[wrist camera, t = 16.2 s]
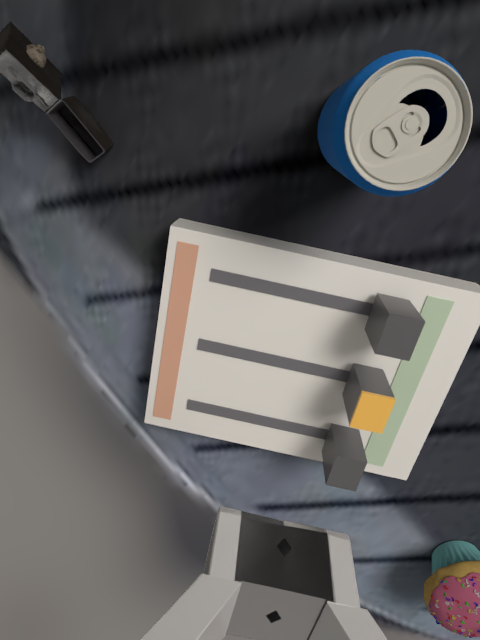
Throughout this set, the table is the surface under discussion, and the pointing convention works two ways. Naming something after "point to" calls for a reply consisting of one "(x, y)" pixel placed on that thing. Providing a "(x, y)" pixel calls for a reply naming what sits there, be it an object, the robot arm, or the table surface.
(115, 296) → the table surface
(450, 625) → the cupcake
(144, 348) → the table surface
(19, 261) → the table surface
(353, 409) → the block
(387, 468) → the white slider switch panel
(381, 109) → the beverage can
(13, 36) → the lighter
